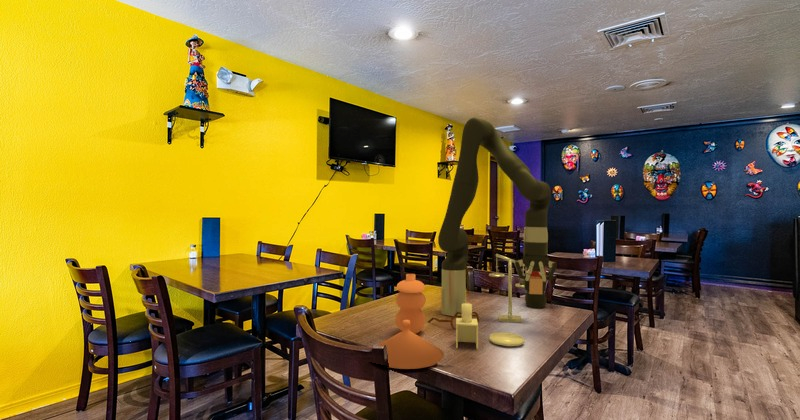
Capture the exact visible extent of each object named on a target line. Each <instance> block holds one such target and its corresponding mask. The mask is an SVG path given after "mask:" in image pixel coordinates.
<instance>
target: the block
mask: <svg viewBox="0 0 800 420" xmlns="http://www.w3.org/2000/svg"><path fill="white" fill-rule="evenodd" d="M542 288H543V279H542V278H541V277H530V278H529V292H528V293H529V294H542Z"/></svg>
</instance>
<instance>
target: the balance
mask: <svg viewBox="0 0 800 420" xmlns="http://www.w3.org/2000/svg"><path fill="white" fill-rule="evenodd" d="M495 257H496V259H495V261H496V264H495V265H496V272H495V273H494V272H491V273H489V274H488V277H492V278H505V274H504V273H499V272H498V258H500V259H503V260H504V261H507V262H508V263H507V264H508V266H507V270H508V271H507V272H508V275H507V276H508V277H507V278H508V279H507V281H508V284H507V286H508V287H507V289H508V290H507V293H508V295H507V296H508V297H507V299H508V300H507V302H508V303H507V305H508V306H507V309H508V313H507V314H498V315H497V319H498V322H499V323H501V322H502V323H523V322H524V321H523V318H522V316H521V315H518V314H517V315H516V314H515V315H514V314H513V313H512V312H513V310H512V309H513V307H512V306H513V302H512V301H513V299H512V298H513V297H512V296H513V295H512V293H513V290H512V289H513V288H512V287H513V283H512V282H513V279H512V278H513V277H512V276H513V274H512V273H513V269H512V267H513V264H514V261H516V260H514V259H512V258H510V257H507V256H505V255H501V254H499V253H496V254H495ZM521 267H522V274H523V275H524V276H525V273H524V271H525V265H524V263H522V266H521ZM515 287H517V288H523V289H524V280H523V279H521V278H519V283H515Z"/></svg>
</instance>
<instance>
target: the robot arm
mask: <svg viewBox="0 0 800 420" xmlns="http://www.w3.org/2000/svg"><path fill="white" fill-rule="evenodd" d="M480 146H481V147H483V148H484V149H486V150H487V151H488V152H489V153H490V154H491V155H492V156H493V158H494V159H495V161H496V164H498V166H499V167H498V168H500V169H501V171H502V172H503V173H504V174H505V175H506V176H507V178H508V179H510V181H511V182H512V183H513V184H514V186H515V187H516V189H517V191H518V192H519V193H520V195H521V196H522V197H523V198H525V200H527V201H528V202H529V208H528V209H527V210H526V211H525V213H524V230H523V231H524V232H523V238H522V239H523V256H522V258H521V259H519V260H515V261H514V263H513V264H514V267H515V269H516V273H517V276H518V278H519V279H523V280H524V288H523V289H524V290H525V292H526V293H527V292H529V278H530V275H531V273H532V271H539V274H540V277H541V278H542V279H543V288H542V293H544V292H546V289H547V281H552V279H553V277H554V275H555V272H556V270H557V267H558V263H557V262H556V261H551V260H550V259H549V258H548V255H549V254H548V250H549V249H548V246H549V244H548V242H549V241H548V240H549V233H548V211H549V209H550V203H551V197H552V195H551V193H552V192H551V188H550V185H549V184H548V183H547V182H545V181H542V180H538V179H536V178H535V177H534V176H533V174H532V173H531V169H530V167H528V165H526V163H525V162H523V160H522V159H520V158H519V156H517V154H516V153H515V152H513V150H512V149H511V148H510V147H509V146H508V145H507V143H506V142H505V141H504V140H503V138H501V135H499V133H498V132H497V130H496V129H495V127H494V126H493V124H492V123H491V122H489V121H487V120H484V119H483V118H480V117H471V118H469V119H467V121H466V122H465V124H464V126H463V129H462V133H461V141H460V149H459V156H458V160H457V165H456V171H455V174H454V178H453V182H452V187H451V191H450V195H449V200H448V204H447V208H446V212H445V215H444V219H443V221H442V225H441V227H440V230H439V234H438V239H437V243H438V246H439V248H440V250H441V251H442V252H444V253H447V254H446V257H445V259H444V260H442V262H441V290H440V291H441V298H440V299H441V302H440V304H441V305H440V306H441V309H440V310H441V312H440V313H441V315H444V316H445V315H446V316H451V317H453V316H455V314H456V313H457V312H460V313H462V304H463V303H467V302H466V298H467V297H466V294H467V293H466V290H467V288H466V281H467V280H466V278H467V277H466V265H467V263H468V258H469V236H468V234H467V232H466V230H464V229H463V228H461V225H462V222H463V219H464V217H465V214H466V213H467V212H468V210H469V208H470V207H471V206H472V204H473V203H474V200H475V198H476V195H477V192H478V191H477V189H478V188H479V187H478V186H479V178H480V177H479V169H478V153H479V149H480ZM522 263H523V264H524V265H525V266H526V267H527V268H526V272H525V273H524V275H523V270H522V268H521V267H523V266H522ZM525 266H524V267H525ZM547 266H548V268H549V269H548V272H547V273H546V276H545V271H544V268H545V267H546V268H547ZM457 316H459V317H462V315H461V314H458V315H457Z"/></svg>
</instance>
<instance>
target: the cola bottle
mask: <svg viewBox="0 0 800 420" xmlns="http://www.w3.org/2000/svg"><path fill="white" fill-rule="evenodd" d="M526 268H527V267H526V266H524V271H525V272H526ZM544 271H545V276H547V266H546V267H545V268H544ZM530 277H540V274H539V271H532V273H531V275H530ZM545 292H546V291H544V293H542V294H529V293H528V292H526V293H525V297H524V302H525V305H526V306H527V307H528V308H529V309H530V308H531V309H544V308H545V307H546V305H547V296H546V293H545Z"/></svg>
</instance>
